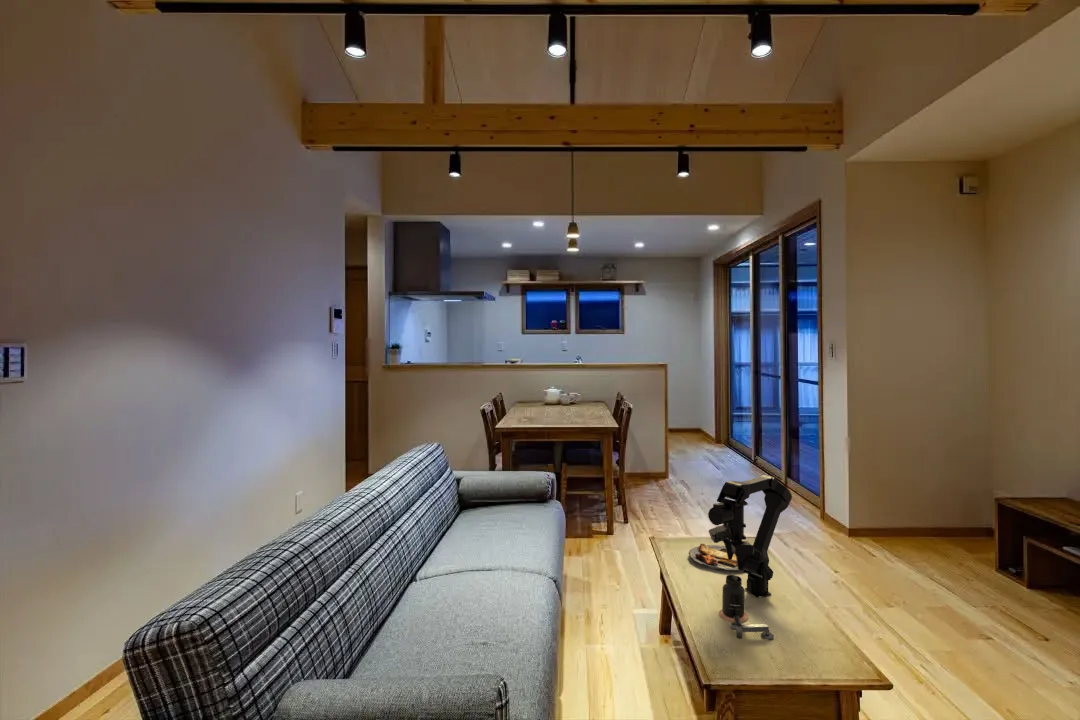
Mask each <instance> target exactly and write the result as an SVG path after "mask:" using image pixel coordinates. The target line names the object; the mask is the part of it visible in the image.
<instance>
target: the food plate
mask: <svg viewBox="0 0 1080 720" xmlns="http://www.w3.org/2000/svg"><path fill="white" fill-rule="evenodd" d="M688 555H689V558H690V559H691V561H693V562H696V563H697V564H701V565H705V566H706V567H708V568H710V569H712V570H713V569H719V570H725V571H739V570H738V566H737V560H736V555H735V554H733V557H732V559H731V560H729V559H728V556H727V552H726V548H725V545H719V544H718V545H717V544H708V545H707V544H705V543H700V545H699V546H694V547H693V548H692V549H690V550H689V551H688Z"/></svg>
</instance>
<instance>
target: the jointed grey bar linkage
mask: <svg viewBox="0 0 1080 720" xmlns="http://www.w3.org/2000/svg"><path fill="white" fill-rule="evenodd" d="M734 622H735V623H734ZM734 622H730V628H731V629H732V630H734V631H736V633H735V637H736V639H738V640H743V637H744V635H743V633H760V637H761V638H762V639H764V640H766V641H773V640H774V639H775V636H774V634H773V633H771V631H770V630H769V629H770V628H769V625H768V624H767V623H766V624H765V623H764V624H763V623H761V624H759V623H756V624H753V623H752V624H742V623H741V621H740V618H739V616H734Z"/></svg>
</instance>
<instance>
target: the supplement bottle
mask: <svg viewBox="0 0 1080 720" xmlns="http://www.w3.org/2000/svg"><path fill="white" fill-rule="evenodd" d="M742 584H743V583H742V577H741V576H738V575H735V574H729V575H726V576H725V584H723V586H722V598H721V599H722V601H721V603H722V604H721V609H722V612H723V614H724V615H725V616H727V617H730V618H734V616H739V618H742V617H743V616H744V612H745V600H746V599H745V597H746V596H745V595H746V593H745V591H746V590H745V587H744V586H743V585H742Z"/></svg>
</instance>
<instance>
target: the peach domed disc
mask: <svg viewBox="0 0 1080 720" xmlns="http://www.w3.org/2000/svg"><path fill="white" fill-rule="evenodd" d="M718 616H719V617H720V618H721V619H722V620H724V621H726V622H729V623H735V622H734V618H730V617H727V616H725V615H724V614H723V612H722V608H721V609H720V610H719V611H718ZM748 620H749V615H748V614H747V612H745V611H744V616H743V617H742V618H740V621H741V624H742V623H745V622H747V621H748Z"/></svg>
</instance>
